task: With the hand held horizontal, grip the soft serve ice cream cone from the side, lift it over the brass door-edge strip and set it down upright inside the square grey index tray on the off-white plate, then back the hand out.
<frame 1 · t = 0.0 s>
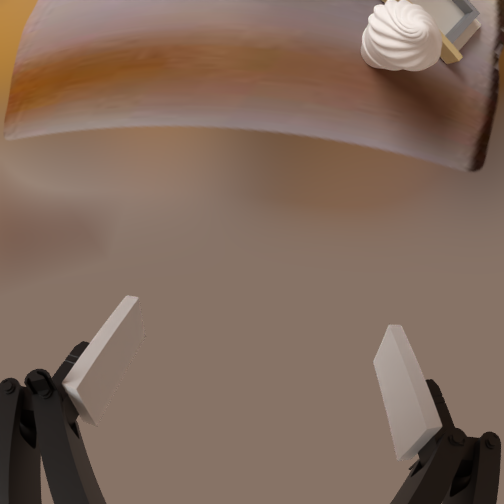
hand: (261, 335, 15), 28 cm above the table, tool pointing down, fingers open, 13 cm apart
jamb plate: (425, 5, 25), on the table
soft serve ice cream cone: (375, 54, 30), on the table
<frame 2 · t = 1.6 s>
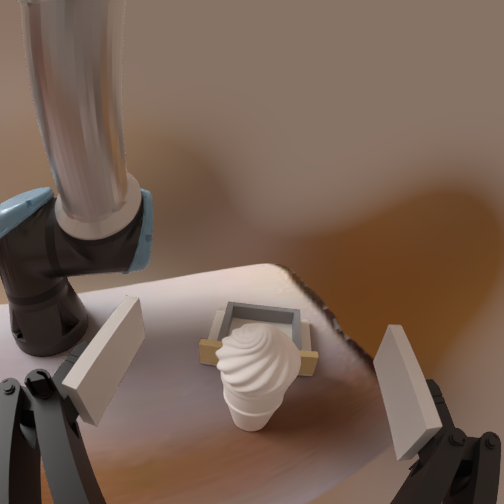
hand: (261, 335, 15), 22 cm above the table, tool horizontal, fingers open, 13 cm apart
jamb plate: (259, 344, 45), on the table
soft serve ice cream cone: (250, 418, 32), on the table
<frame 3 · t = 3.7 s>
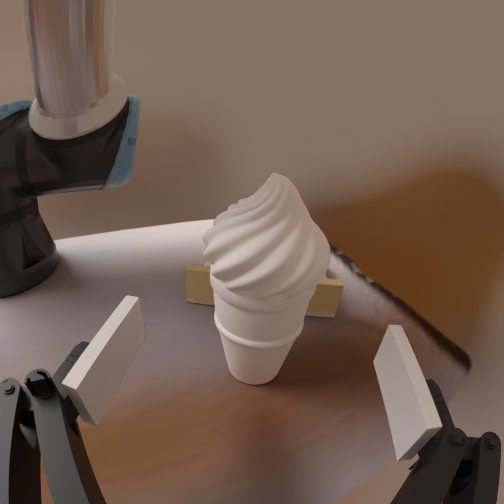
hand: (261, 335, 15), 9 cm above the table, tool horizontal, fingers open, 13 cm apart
jamb plate: (263, 283, 37), on the table
soft serve ice cream cone: (253, 368, 24), on the table
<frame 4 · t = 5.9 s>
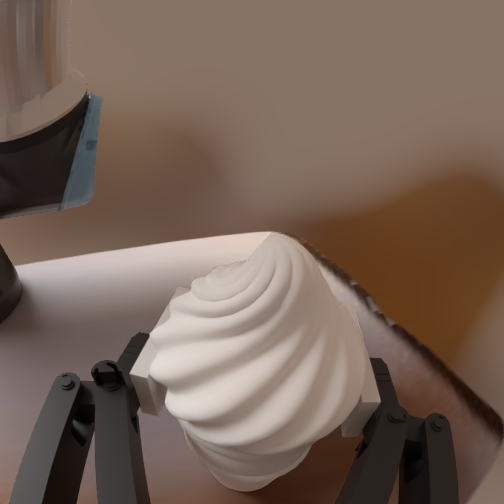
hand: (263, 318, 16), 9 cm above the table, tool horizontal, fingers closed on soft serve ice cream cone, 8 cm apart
soft serve ice cream cone: (244, 465, 16), on the table, touching gripper
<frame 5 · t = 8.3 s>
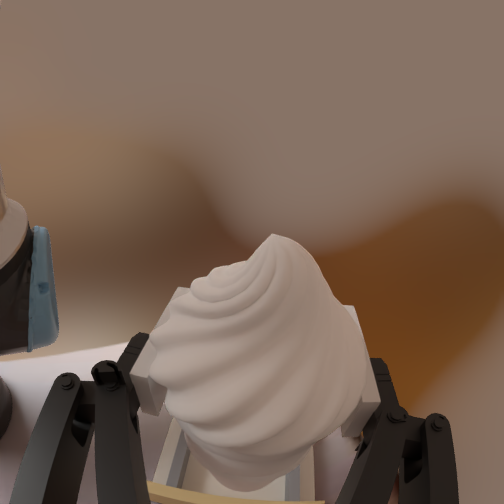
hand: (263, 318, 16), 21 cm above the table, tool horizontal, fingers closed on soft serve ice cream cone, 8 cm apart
jamb plate: (236, 468, 25), on the table
soft serve ice cream cone: (244, 466, 16), point 12 cm above the table, touching gripper
when the fingers open (11 cm above the table, at t = 11.0 s): soft serve ice cream cone drops 1 cm, resting on jamb plate.
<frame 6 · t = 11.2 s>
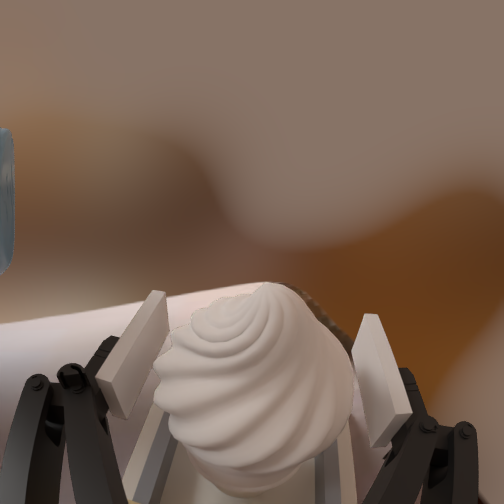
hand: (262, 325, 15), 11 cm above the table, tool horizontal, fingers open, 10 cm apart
jamb plate: (242, 475, 16), on the table
soft serve ice cream cone: (242, 473, 16), point 1 cm above the table, touching jamb plate
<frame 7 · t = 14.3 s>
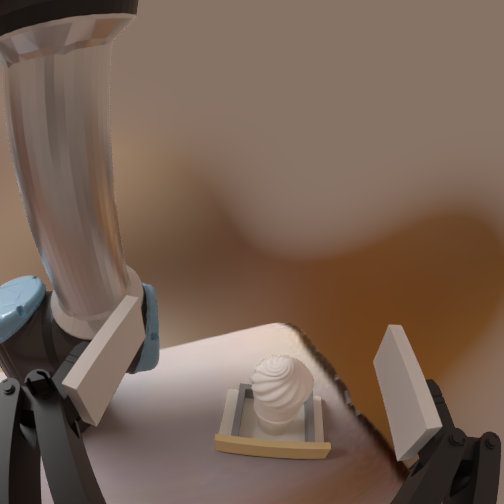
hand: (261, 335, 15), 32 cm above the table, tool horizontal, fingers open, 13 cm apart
jamb plate: (272, 426, 41), on the table
soft serve ice cream cone: (272, 425, 40), point 1 cm above the table, touching jamb plate
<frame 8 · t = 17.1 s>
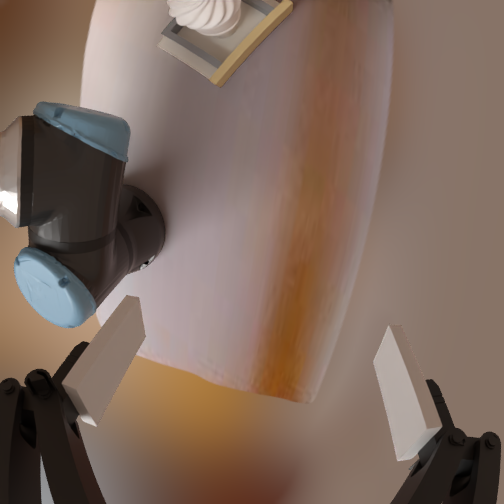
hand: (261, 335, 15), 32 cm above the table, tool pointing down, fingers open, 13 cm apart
jamb plate: (224, 27, 33), on the table
soft serve ice cream cone: (223, 26, 33), point 1 cm above the table, touching jamb plate
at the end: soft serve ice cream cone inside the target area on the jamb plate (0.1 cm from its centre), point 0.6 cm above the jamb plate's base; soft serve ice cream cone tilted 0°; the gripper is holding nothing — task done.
